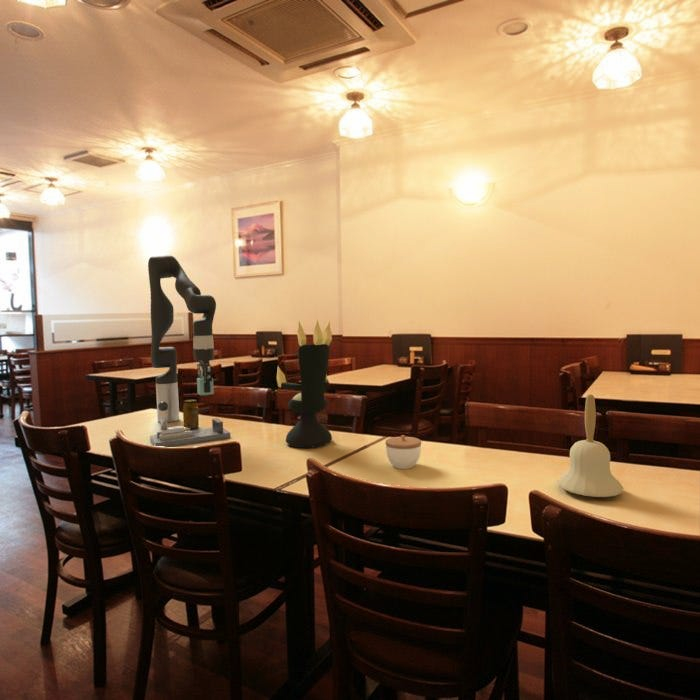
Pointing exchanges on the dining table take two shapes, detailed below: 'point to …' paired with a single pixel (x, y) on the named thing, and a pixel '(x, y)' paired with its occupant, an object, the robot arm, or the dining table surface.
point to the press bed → (192, 435)
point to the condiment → (191, 415)
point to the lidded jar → (403, 451)
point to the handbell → (590, 463)
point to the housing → (201, 387)
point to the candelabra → (309, 389)
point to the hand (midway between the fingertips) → (205, 391)
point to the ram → (163, 420)
